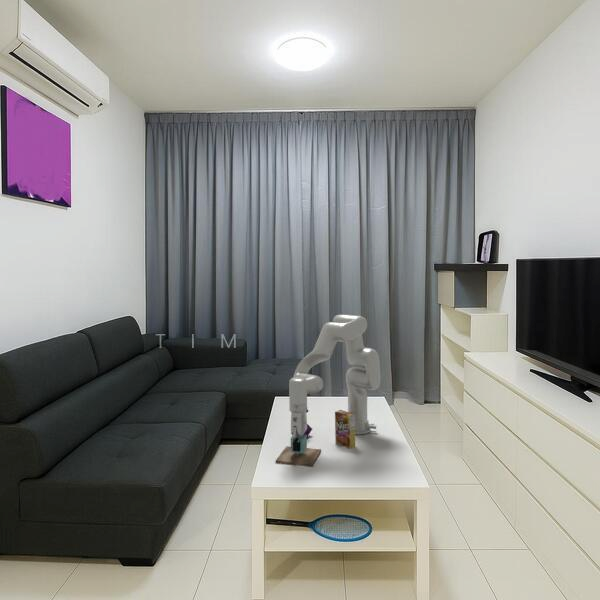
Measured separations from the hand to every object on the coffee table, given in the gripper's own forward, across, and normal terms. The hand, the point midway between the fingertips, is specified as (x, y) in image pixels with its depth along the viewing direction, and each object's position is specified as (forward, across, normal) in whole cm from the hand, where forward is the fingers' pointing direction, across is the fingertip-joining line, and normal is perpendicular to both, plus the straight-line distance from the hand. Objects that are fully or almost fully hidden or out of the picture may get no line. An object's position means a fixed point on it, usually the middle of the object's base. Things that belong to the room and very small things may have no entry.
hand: (298, 447), depth 197 cm
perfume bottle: (+4, +24, +5) cm, 25 cm away
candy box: (+4, +18, -17) cm, 25 cm away
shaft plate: (+4, 0, 0) cm, 4 cm away
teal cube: (+1, 0, 0) cm, 1 cm away
